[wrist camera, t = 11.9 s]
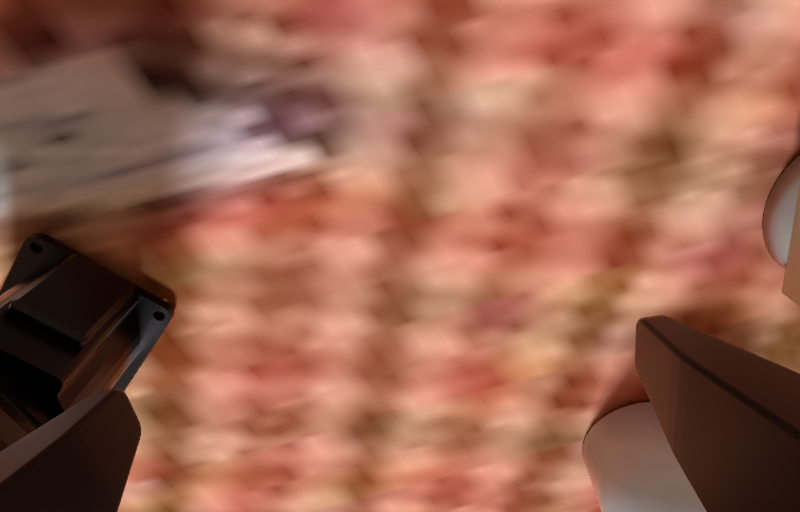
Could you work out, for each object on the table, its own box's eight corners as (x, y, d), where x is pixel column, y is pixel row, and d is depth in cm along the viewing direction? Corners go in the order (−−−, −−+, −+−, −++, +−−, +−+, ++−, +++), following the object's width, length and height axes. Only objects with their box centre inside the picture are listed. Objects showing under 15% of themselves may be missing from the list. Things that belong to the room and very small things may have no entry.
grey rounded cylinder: (669, 493, 29) (726, 610, 23) (564, 474, 28) (599, 589, 23) (725, 414, 26) (805, 528, 21) (610, 391, 25) (662, 502, 20)
